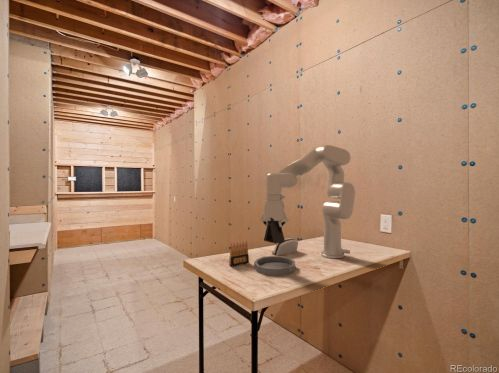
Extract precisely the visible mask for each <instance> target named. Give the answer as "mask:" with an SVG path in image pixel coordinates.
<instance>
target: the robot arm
mask: <svg viewBox="0 0 499 373" xmlns="http://www.w3.org/2000/svg"><path fill="white" fill-rule="evenodd" d="M350 153H351V152H349V151H348V150H347V149H345V148H341V147H338V146H335V145H331V144H324V145H318V146H316V147H315V146H314V147H313V148H312V149H310V150H309V151H308V152H306V153H305V154H304V155H302V157H300V158H299V159H297V160H295V161H293V162H291V163H290V164H288V165H286V166H285V167H283V168H281V169H280V170H279V171H277V172H274V173H273V172H272V173H267V174H266V175H265V176H266V179H265V180H266V181H265V182H266V183H265V185H266V186H265V187H266V192H265V193H266V194H265V196H266V200H265V201H264V207H263V208H264V209H263V215H262V216H261V217H260V219H259V221H260V222H261V223H263V224H264V225H265V226H266V227H265V228H267V224H268V221H269V222H270V221H271V219H270V218H273V219H274V221H278V222H279V228H278V231H279V233H280V232H281V233H282V232H283V228H282V227H283V226H284V225H285V224H287V223H288V222H289V221H290V219H289V218H288V216H287V215H286V214H285V211H286V210H285V204H284V199H285V195H283V193H282V191H283V190H282V188H293V187H295V186H296V185H297V183H298V176H300V175H304V174H305V175H306V174H307V173H309V172H311V171H312V170H313V169H315V167H316V166H318V165H319V164H320V163H323V165H324V166H325V167H326V169H327V171H328V181H327V186H326V187H327V188H326V189H327V190H326V195H327V196H328V197H329V198H330V199H335V200H326V201H324V203H322V206H321V213H322V217H323V218H322V219H323V251H321V252H320V253H321V254H320V255H321V256H322V257H324V258H327V259H341V258H344V257H345V254H351V250H349V249H346V248H345V249H343V247H342V223H341V221H340V220H348V219H350V218H351V216H352V215H353V211H354V204H355V197H356V190H355V186H354V185H353V184H352V183H351V182H347V181H346V182H345V172H344V169H343V168H342V166H346V165H348V164H349V163H350V161H351V159H352V158H351V154H350ZM339 200H340V201H339ZM268 235H270V227H269V229H268Z"/></svg>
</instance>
